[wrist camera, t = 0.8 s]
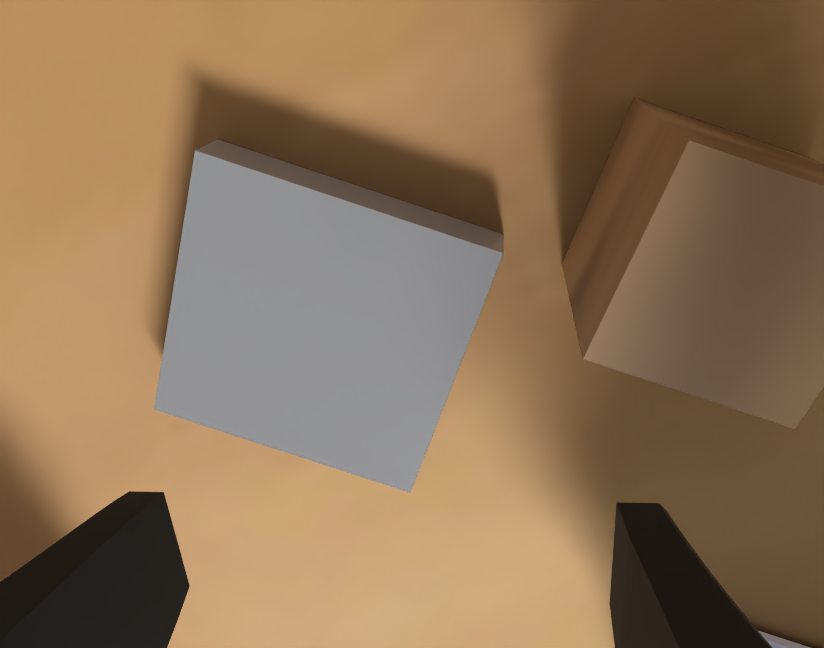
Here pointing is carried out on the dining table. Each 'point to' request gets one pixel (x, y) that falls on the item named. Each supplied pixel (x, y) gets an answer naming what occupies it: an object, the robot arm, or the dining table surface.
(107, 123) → the dining table surface
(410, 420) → the slate slab
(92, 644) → the robot arm
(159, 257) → the dining table surface
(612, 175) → the walnut block
